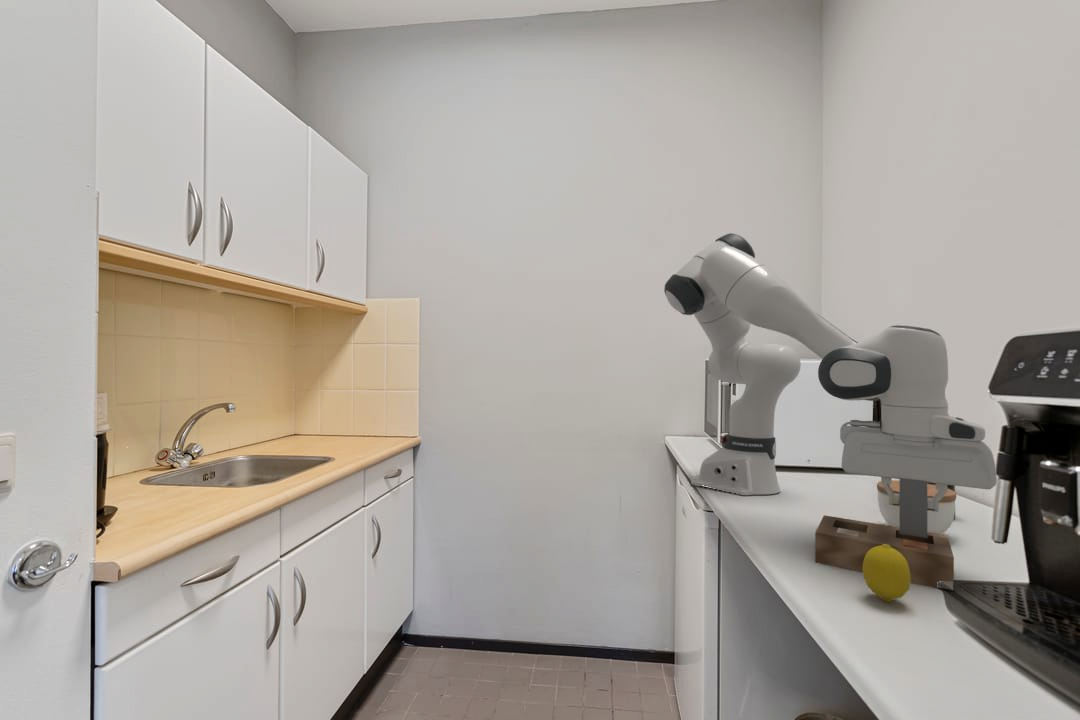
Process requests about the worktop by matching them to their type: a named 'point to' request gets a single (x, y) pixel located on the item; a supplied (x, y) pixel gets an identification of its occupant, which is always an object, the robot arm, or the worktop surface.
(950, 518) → the lidded bowl
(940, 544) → the socket block
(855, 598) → the worktop surface
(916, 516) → the plug
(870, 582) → the lemon
